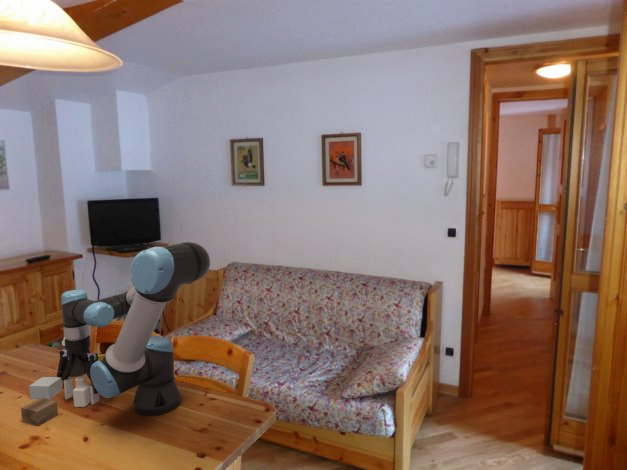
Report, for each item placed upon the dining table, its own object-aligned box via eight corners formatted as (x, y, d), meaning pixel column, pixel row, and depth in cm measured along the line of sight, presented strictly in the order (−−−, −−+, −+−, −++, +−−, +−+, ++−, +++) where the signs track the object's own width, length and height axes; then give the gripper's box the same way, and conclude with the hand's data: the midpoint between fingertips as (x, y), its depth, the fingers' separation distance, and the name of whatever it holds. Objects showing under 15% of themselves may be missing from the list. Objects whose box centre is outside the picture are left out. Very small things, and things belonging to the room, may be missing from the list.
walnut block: (58, 415, 147) (56, 401, 146) (38, 427, 140) (36, 411, 140) (42, 411, 149) (41, 397, 149) (22, 422, 143) (20, 407, 142)
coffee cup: (83, 378, 173) (80, 341, 171) (58, 378, 173) (55, 341, 171) (96, 368, 182) (93, 332, 180) (72, 368, 182) (69, 332, 180)
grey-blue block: (62, 390, 164) (61, 377, 163) (49, 400, 157) (48, 386, 156) (43, 390, 164) (42, 377, 164) (30, 399, 158) (29, 385, 157)
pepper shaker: (79, 401, 155) (77, 375, 154) (91, 402, 155) (89, 375, 154) (73, 407, 151) (71, 380, 150) (85, 408, 151) (83, 381, 150)
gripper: (113, 336, 150) (117, 399, 153) (59, 329, 157) (64, 389, 160) (96, 344, 143) (101, 410, 146) (40, 336, 150) (46, 399, 153)
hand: (82, 399), depth 153 cm, fingers open, 10 cm apart
